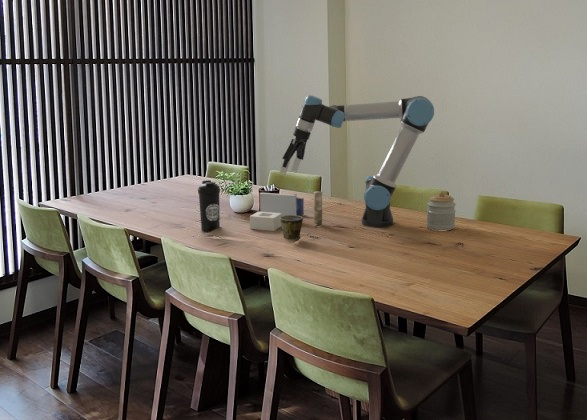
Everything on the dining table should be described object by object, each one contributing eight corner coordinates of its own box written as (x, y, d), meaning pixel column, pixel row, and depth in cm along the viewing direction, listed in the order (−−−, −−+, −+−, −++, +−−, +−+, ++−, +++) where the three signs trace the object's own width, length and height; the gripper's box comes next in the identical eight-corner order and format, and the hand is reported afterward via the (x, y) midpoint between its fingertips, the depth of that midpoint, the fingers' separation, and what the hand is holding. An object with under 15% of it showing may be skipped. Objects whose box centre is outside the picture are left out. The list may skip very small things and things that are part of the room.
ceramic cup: (281, 236, 316) (281, 215, 314) (303, 236, 315) (303, 215, 313) (278, 244, 304) (278, 222, 301) (301, 244, 303) (301, 222, 300)
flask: (304, 215, 357) (304, 194, 354) (301, 216, 354) (301, 195, 352) (288, 213, 361) (288, 192, 359) (285, 214, 359) (285, 193, 356)
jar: (421, 229, 326) (422, 191, 322) (434, 223, 336) (435, 187, 332) (447, 233, 318) (448, 195, 314) (459, 227, 328) (461, 190, 324)
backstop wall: (296, 223, 340) (296, 194, 337) (278, 235, 319) (278, 204, 316) (262, 220, 346) (261, 192, 343) (242, 231, 325) (241, 202, 322)
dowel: (323, 224, 337) (323, 191, 333) (320, 226, 333) (320, 193, 330) (315, 223, 338) (315, 191, 335) (312, 225, 335) (312, 192, 331)
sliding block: (282, 225, 330) (281, 213, 329) (273, 230, 321) (273, 218, 320) (258, 223, 334) (258, 211, 333) (249, 228, 325) (249, 216, 324)
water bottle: (204, 233, 323) (202, 184, 318) (196, 228, 332) (194, 180, 327) (224, 230, 328) (223, 182, 322) (216, 226, 336) (214, 178, 331)
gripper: (305, 125, 331) (291, 167, 337) (285, 126, 308) (270, 171, 314) (319, 131, 329) (304, 173, 335) (300, 133, 306) (284, 178, 312)
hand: (288, 172), depth 324 cm, fingers open, 13 cm apart
